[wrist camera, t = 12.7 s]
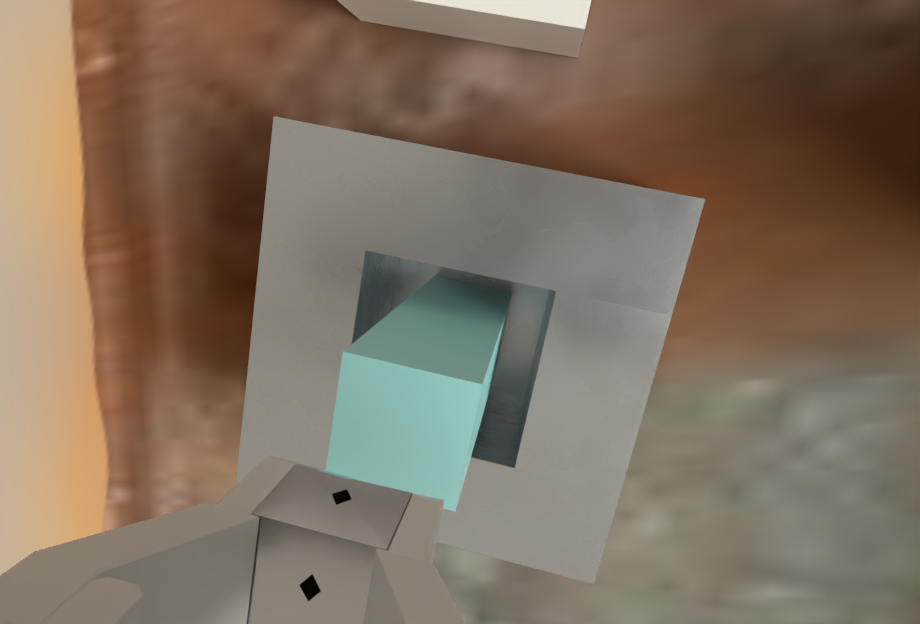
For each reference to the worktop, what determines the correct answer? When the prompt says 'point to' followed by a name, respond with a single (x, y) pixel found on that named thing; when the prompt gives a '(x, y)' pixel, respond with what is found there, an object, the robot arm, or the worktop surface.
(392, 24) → the white square-hole block
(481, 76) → the worktop surface
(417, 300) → the plug
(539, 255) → the port
